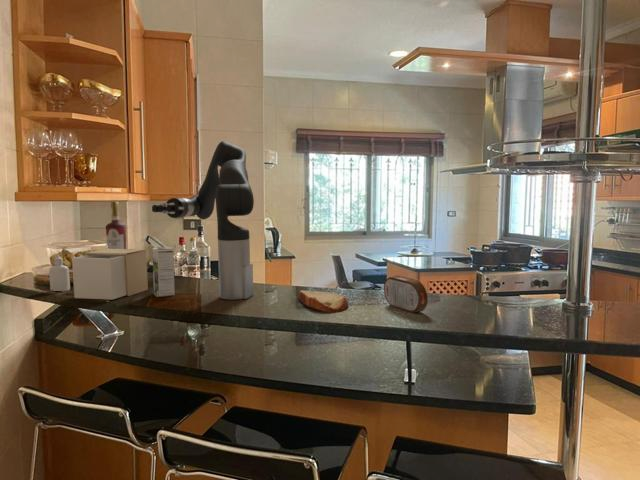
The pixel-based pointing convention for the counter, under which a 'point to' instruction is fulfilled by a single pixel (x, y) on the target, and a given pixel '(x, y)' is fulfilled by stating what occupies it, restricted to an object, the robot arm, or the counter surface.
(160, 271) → the syrup box
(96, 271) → the plain white carton
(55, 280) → the eye dropper bottle
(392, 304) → the tin
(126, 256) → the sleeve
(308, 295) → the slice of bread
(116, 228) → the liquor
